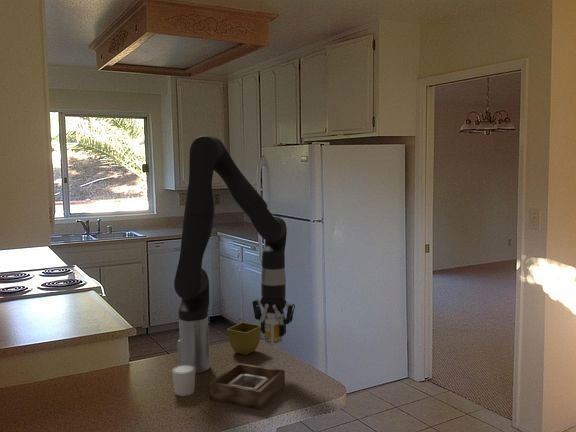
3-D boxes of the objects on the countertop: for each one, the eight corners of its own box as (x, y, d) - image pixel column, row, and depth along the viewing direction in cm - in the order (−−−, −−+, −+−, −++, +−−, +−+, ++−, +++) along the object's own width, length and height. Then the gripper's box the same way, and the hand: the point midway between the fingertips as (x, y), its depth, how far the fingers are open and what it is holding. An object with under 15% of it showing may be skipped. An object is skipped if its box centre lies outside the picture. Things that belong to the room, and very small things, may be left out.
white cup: (201, 388, 163) (200, 366, 162) (187, 398, 156) (186, 374, 156) (182, 385, 165) (181, 362, 165) (168, 394, 159) (167, 371, 158)
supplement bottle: (282, 339, 174) (282, 309, 173) (280, 345, 169) (280, 314, 168) (266, 338, 175) (265, 309, 174) (263, 344, 170) (263, 314, 168)
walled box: (210, 399, 155) (209, 383, 154) (238, 378, 169) (237, 362, 169) (260, 409, 148) (260, 392, 148) (285, 386, 163) (284, 370, 162)
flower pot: (247, 358, 186) (246, 332, 185) (227, 353, 191) (226, 328, 190) (262, 350, 193) (261, 325, 192) (242, 346, 198) (242, 322, 197)
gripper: (247, 281, 169) (247, 334, 171) (289, 286, 163) (289, 341, 165) (258, 276, 176) (258, 327, 178) (299, 281, 170) (299, 334, 172)
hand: (273, 334), depth 172 cm, fingers closed on supplement bottle, 5 cm apart
